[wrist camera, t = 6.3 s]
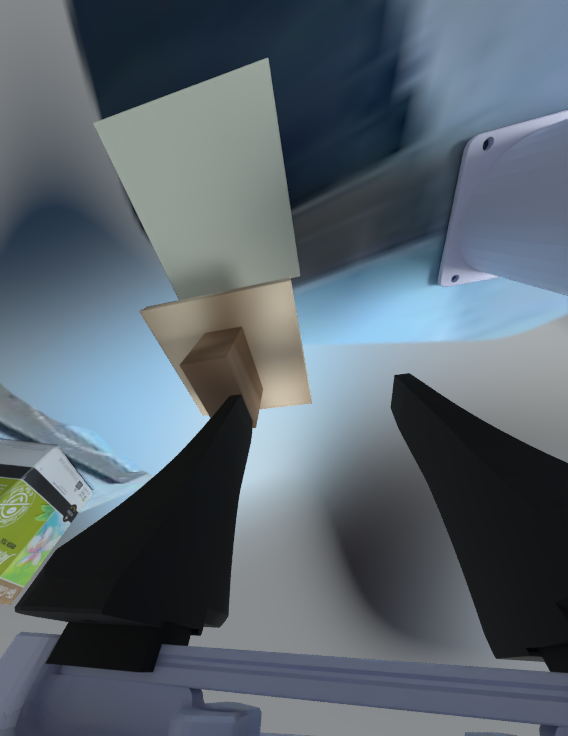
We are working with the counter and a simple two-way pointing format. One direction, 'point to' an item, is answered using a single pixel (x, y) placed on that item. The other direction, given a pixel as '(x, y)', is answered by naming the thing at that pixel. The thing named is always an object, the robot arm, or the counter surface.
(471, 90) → the counter surface
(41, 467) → the tea box
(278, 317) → the lid
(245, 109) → the mat
